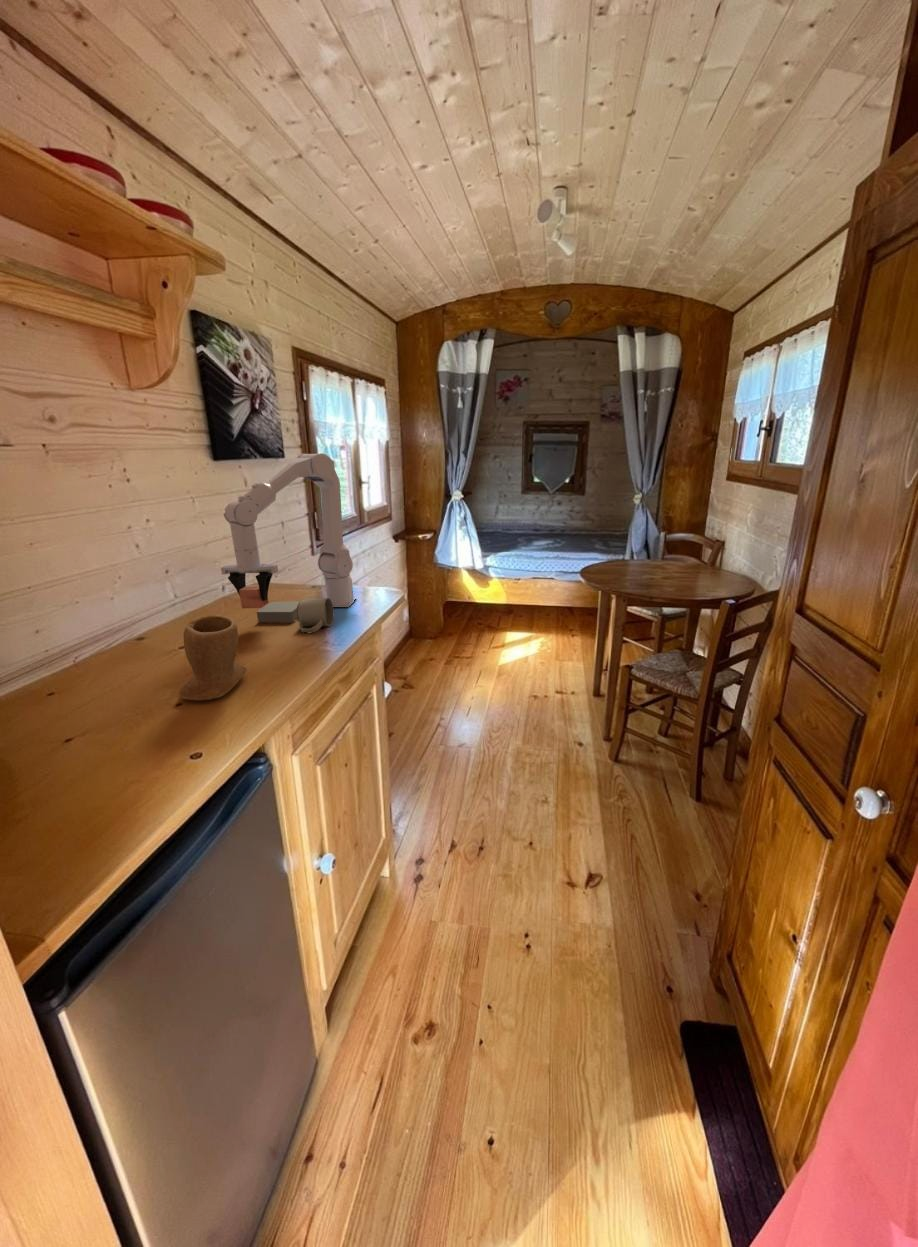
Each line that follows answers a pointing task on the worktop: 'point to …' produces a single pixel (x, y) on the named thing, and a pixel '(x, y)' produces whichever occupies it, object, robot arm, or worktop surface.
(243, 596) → the red cube
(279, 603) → the grey block
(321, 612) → the ceramic mug
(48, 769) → the worktop surface
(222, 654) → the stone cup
